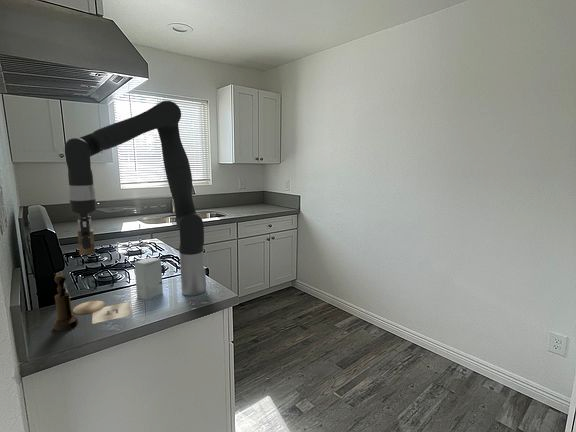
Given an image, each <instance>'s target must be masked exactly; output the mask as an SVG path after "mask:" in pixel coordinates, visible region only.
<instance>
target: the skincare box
mask: <svg viewBox="0 0 576 432" xmlns="http://www.w3.org/2000/svg"><path fill="white" fill-rule="evenodd" d="M133 263H134V273H135V288H136V297H137V298H138V299H141V300H144V301H147V300H149V299H153V298H155V297H157V296H159V295H162V294H163V293H164V290H163V276H162V275H163V272H162V260H161V258H157V257H148V258H144V259H140V260H137V261H134V262H133Z"/></svg>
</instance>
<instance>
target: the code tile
mask: <svg viewBox="0 0 576 432" xmlns="http://www.w3.org/2000/svg"><path fill="white" fill-rule="evenodd" d="M91 314H92V315H91V316H92V318H91V324H92V325H94V324H99V323H102V322H106V321H112V320H116V319H120V318H125V317H129V316H132V314H133V313H132V309H131V305H130V302H129V301H127V302H121V303H117V304H113V305H107V306H106V305H105V306H104V307H103V308H102V309H100V310H98V311H96V312H93V313H91Z"/></svg>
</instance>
